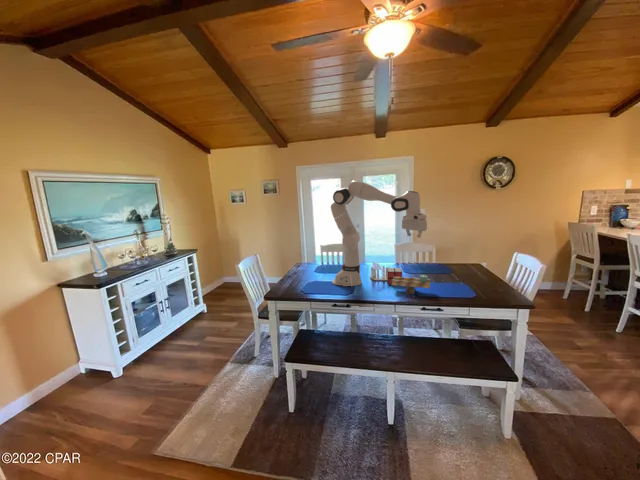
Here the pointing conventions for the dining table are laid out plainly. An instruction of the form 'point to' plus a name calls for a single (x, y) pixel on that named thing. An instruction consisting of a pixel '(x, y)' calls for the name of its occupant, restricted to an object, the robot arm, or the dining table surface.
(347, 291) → the dining table surface
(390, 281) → the puzzle cube
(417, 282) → the beam
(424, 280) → the rider
